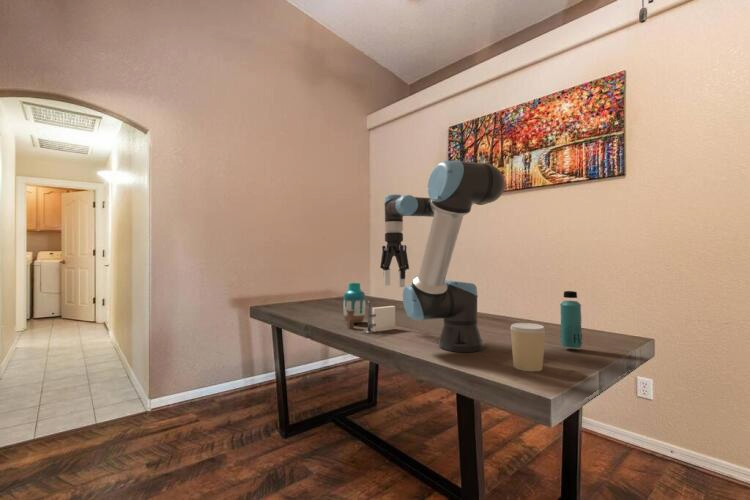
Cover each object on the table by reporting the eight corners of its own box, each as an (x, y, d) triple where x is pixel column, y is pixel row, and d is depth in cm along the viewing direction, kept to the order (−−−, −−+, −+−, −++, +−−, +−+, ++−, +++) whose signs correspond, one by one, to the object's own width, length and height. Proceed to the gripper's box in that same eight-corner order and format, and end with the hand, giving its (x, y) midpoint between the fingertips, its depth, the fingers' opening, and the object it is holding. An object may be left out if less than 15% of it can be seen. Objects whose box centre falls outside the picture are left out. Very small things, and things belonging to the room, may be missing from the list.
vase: (339, 324, 169) (339, 283, 170) (349, 320, 179) (349, 281, 179) (360, 326, 165) (359, 284, 166) (369, 322, 175) (368, 282, 175)
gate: (372, 330, 151) (372, 308, 152) (369, 330, 153) (369, 308, 153) (395, 327, 158) (395, 306, 158) (392, 326, 160) (392, 305, 160)
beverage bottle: (574, 353, 119) (573, 292, 119) (555, 348, 125) (555, 290, 125) (586, 351, 122) (585, 291, 122) (568, 346, 128) (567, 289, 128)
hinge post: (375, 332, 151) (375, 301, 151) (367, 333, 149) (367, 301, 149) (370, 331, 154) (370, 300, 154) (363, 332, 152) (363, 300, 152)
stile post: (354, 328, 160) (354, 310, 160) (349, 329, 159) (349, 310, 159) (351, 327, 162) (351, 309, 162) (346, 328, 161) (346, 309, 161)
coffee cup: (534, 361, 110) (533, 322, 110) (552, 371, 101) (552, 328, 101) (504, 363, 109) (504, 323, 109) (521, 373, 99) (520, 329, 100)
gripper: (418, 231, 144) (418, 287, 143) (385, 233, 162) (386, 284, 162) (403, 230, 139) (403, 288, 139) (371, 233, 158) (372, 284, 158)
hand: (394, 286), depth 150 cm, fingers open, 9 cm apart
